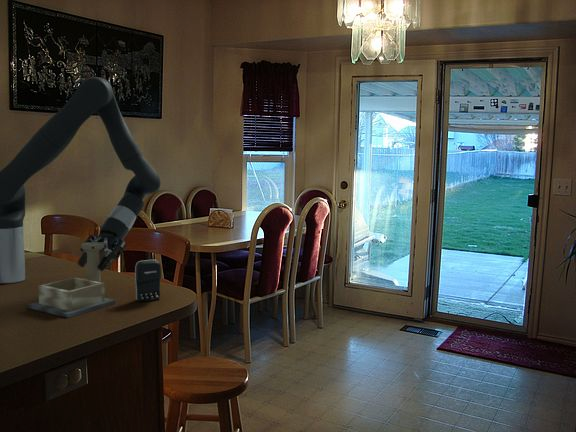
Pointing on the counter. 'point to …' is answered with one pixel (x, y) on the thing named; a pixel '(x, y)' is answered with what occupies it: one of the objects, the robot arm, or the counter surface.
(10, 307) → the counter surface
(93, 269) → the handle
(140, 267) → the battery charger
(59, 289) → the cream grey square tray
